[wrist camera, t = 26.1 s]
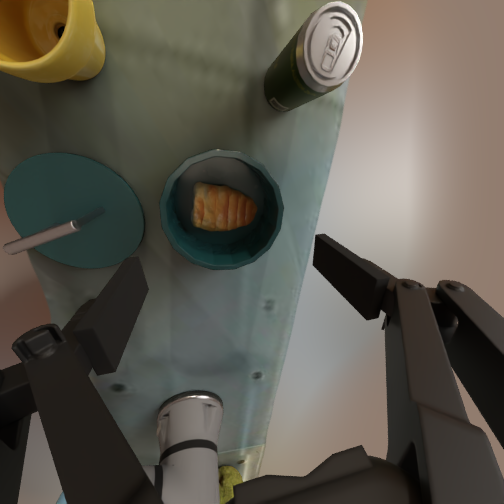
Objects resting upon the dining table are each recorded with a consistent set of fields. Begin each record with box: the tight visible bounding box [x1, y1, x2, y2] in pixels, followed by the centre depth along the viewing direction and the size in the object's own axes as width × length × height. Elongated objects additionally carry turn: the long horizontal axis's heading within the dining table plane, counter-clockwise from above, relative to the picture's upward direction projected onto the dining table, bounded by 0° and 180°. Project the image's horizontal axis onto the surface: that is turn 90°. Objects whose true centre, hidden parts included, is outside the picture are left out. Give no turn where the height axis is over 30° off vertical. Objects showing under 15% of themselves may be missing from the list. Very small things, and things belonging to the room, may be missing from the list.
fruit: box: [218, 466, 243, 504], centre depth 62 cm, size 16×14×15 cm
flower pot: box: [0, 0, 105, 83], centre depth 17 cm, size 10×10×10 cm
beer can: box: [264, 1, 363, 112], centre depth 21 cm, size 5×5×12 cm
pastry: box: [191, 182, 257, 231], centre depth 30 cm, size 9×7×4 cm
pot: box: [159, 149, 284, 270], centre depth 28 cm, size 14×14×8 cm
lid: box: [3, 153, 145, 268], centre depth 25 cm, size 15×15×9 cm
